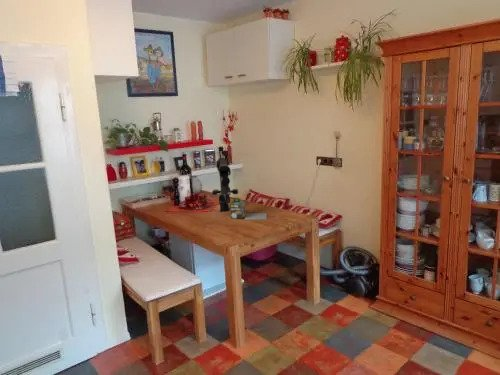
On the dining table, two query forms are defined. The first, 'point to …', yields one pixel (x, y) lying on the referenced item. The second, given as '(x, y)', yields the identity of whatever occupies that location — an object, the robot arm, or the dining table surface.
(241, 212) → the chalk box
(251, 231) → the dining table surface
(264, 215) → the mat
